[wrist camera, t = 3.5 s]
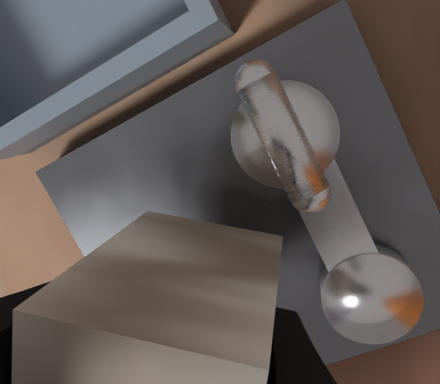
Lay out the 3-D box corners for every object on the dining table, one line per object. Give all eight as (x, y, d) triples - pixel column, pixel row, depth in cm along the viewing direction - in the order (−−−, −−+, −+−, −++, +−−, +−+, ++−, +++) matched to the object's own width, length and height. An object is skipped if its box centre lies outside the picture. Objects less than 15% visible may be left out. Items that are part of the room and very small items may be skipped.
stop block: (282, 236, 12) (268, 370, 6) (260, 359, 13) (229, 580, 7) (147, 210, 12) (12, 309, 6) (135, 330, 13) (9, 510, 7)
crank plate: (182, 392, 18) (174, 415, 17) (53, 166, 16) (33, 172, 15) (470, 297, 15) (486, 316, 13) (341, 6, 13) (345, -3, 12)
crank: (429, 309, 13) (497, 423, 9) (341, 338, 14) (362, 455, 10) (308, 46, 12) (315, 20, 8) (220, 94, 13) (178, 96, 8)
